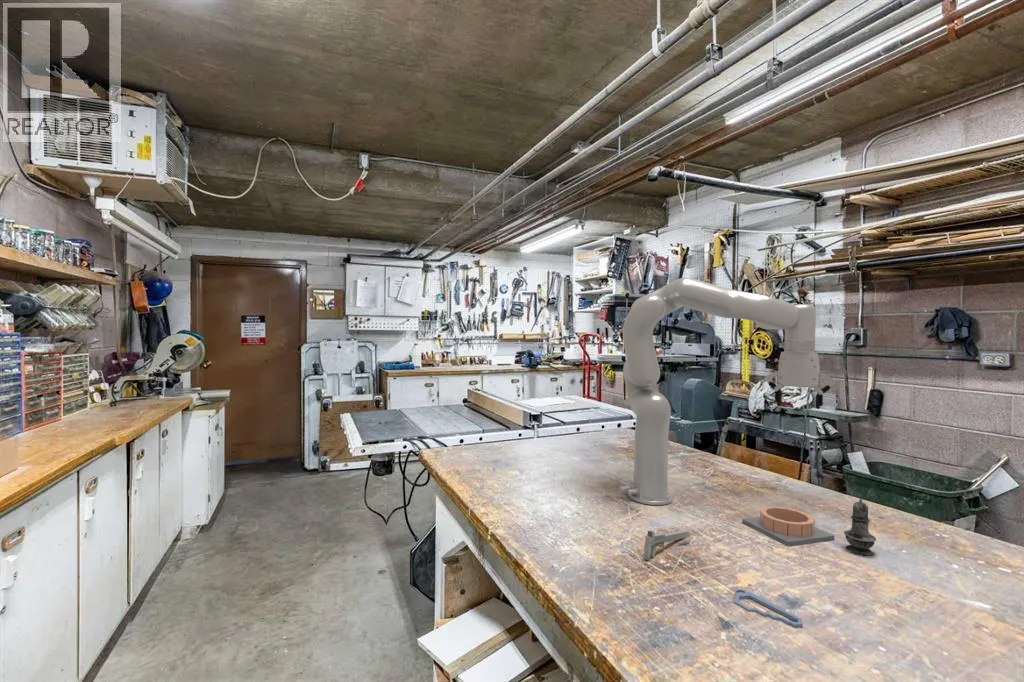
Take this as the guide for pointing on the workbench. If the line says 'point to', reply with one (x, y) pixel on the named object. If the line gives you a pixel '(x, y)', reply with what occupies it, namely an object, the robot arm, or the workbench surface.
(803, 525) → the shaker holder
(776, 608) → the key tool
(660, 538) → the caliper
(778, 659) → the workbench surface
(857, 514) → the dark flared piece
